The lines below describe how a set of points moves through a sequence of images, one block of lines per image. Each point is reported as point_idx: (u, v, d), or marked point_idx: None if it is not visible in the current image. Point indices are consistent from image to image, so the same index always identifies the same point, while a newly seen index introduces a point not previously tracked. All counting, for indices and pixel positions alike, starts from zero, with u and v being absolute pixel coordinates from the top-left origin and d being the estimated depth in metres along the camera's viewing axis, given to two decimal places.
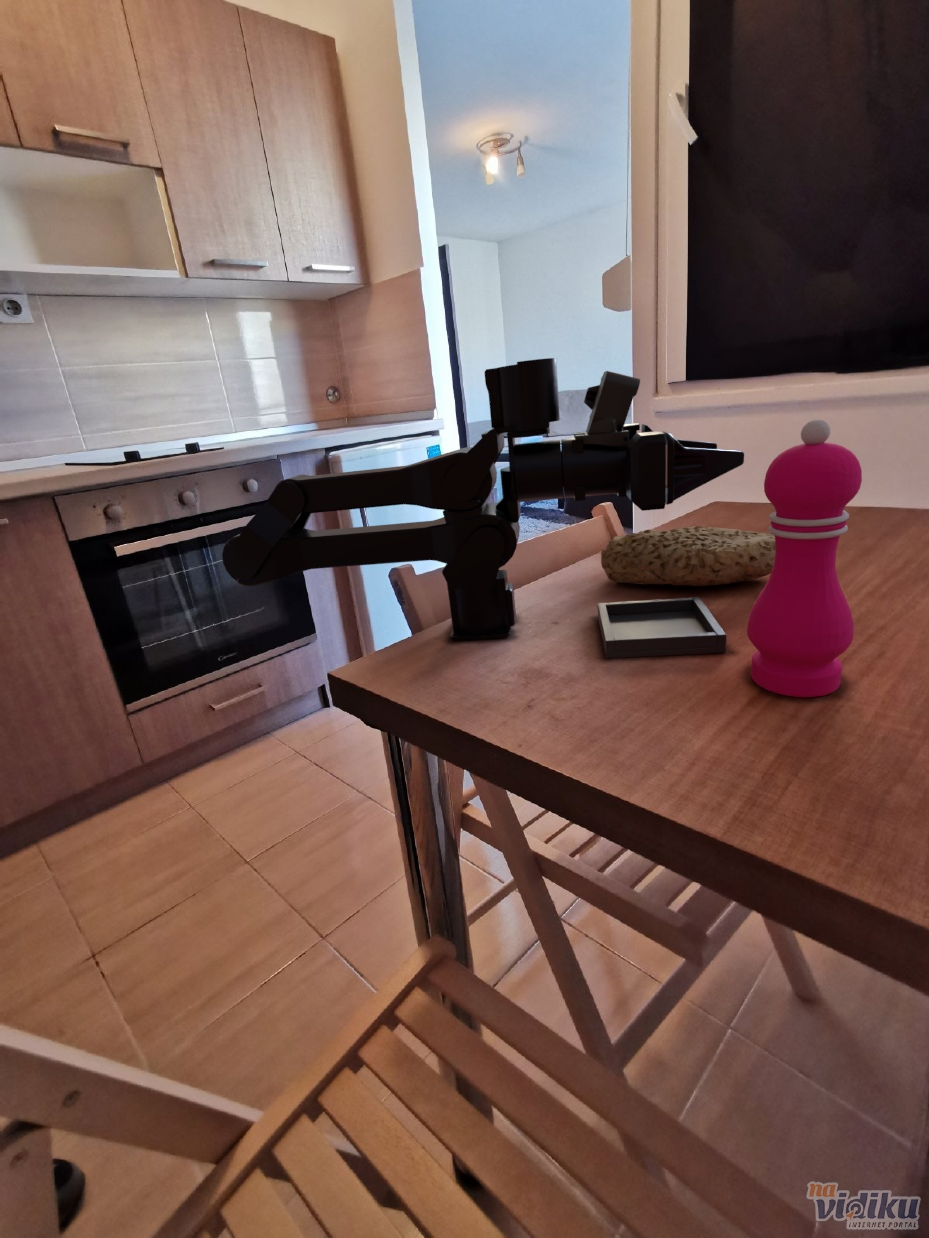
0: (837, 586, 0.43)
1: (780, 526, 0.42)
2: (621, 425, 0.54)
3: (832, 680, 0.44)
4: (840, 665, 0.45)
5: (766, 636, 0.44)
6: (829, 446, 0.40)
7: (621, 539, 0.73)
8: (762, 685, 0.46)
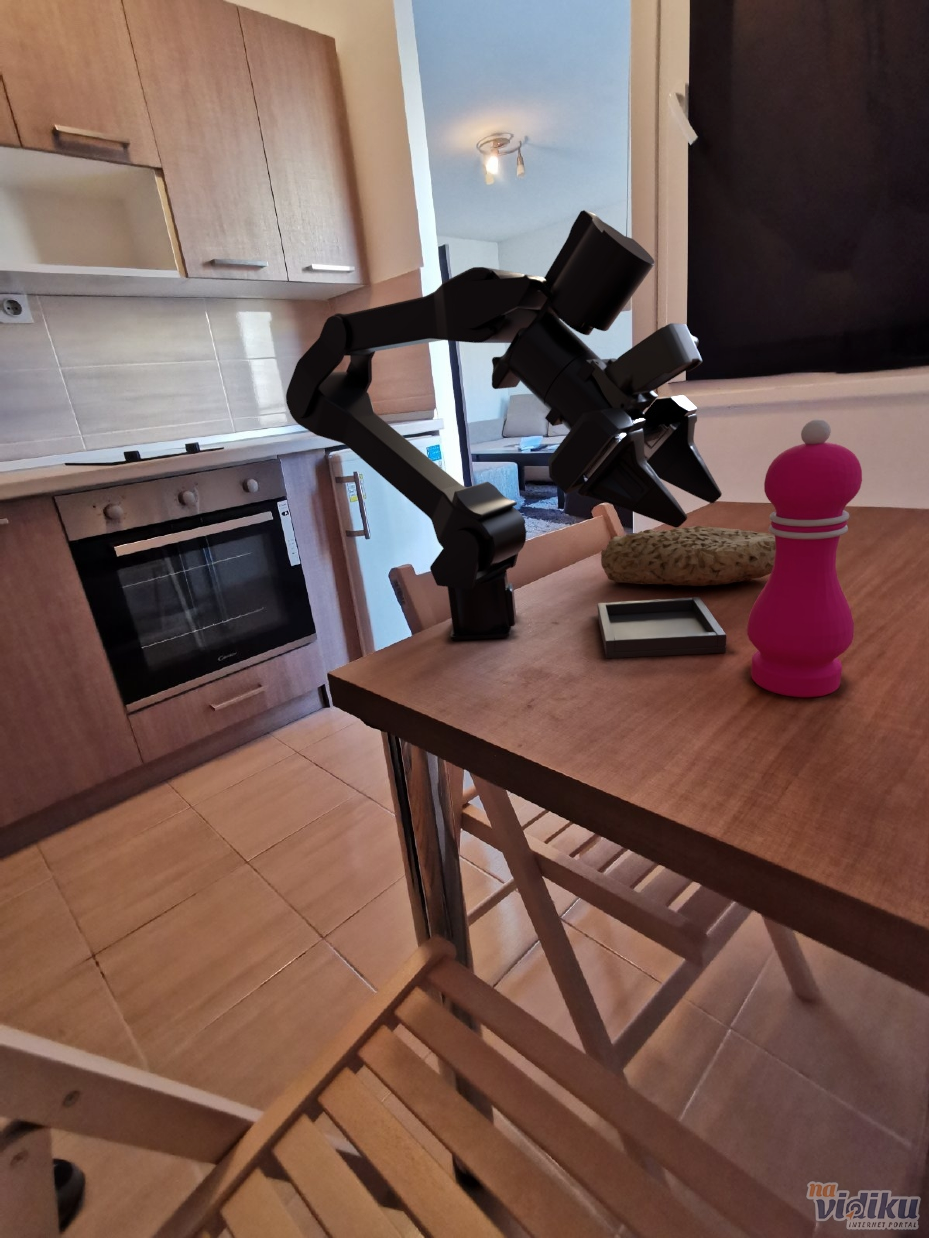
0: (837, 586, 0.43)
1: (780, 526, 0.42)
2: (633, 389, 0.45)
3: (832, 680, 0.44)
4: (840, 665, 0.45)
5: (766, 636, 0.44)
6: (829, 446, 0.40)
7: (621, 539, 0.73)
8: (762, 685, 0.46)
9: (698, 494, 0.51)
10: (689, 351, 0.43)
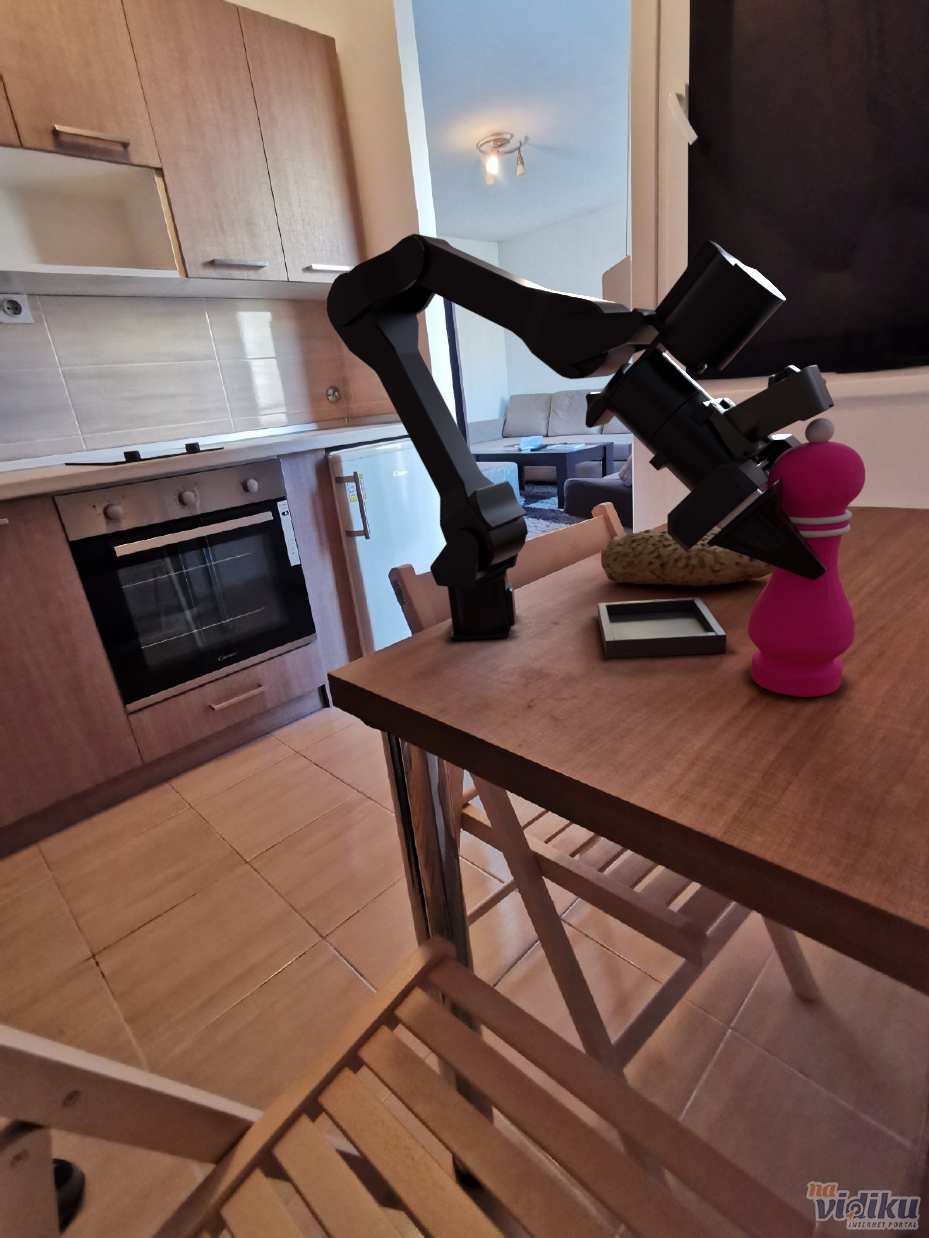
0: (839, 585, 0.43)
1: None
2: (758, 436, 0.41)
3: (833, 680, 0.44)
4: (840, 665, 0.45)
5: (768, 635, 0.44)
6: (833, 444, 0.40)
7: (621, 539, 0.73)
8: (762, 684, 0.46)
9: None
10: (825, 396, 0.39)
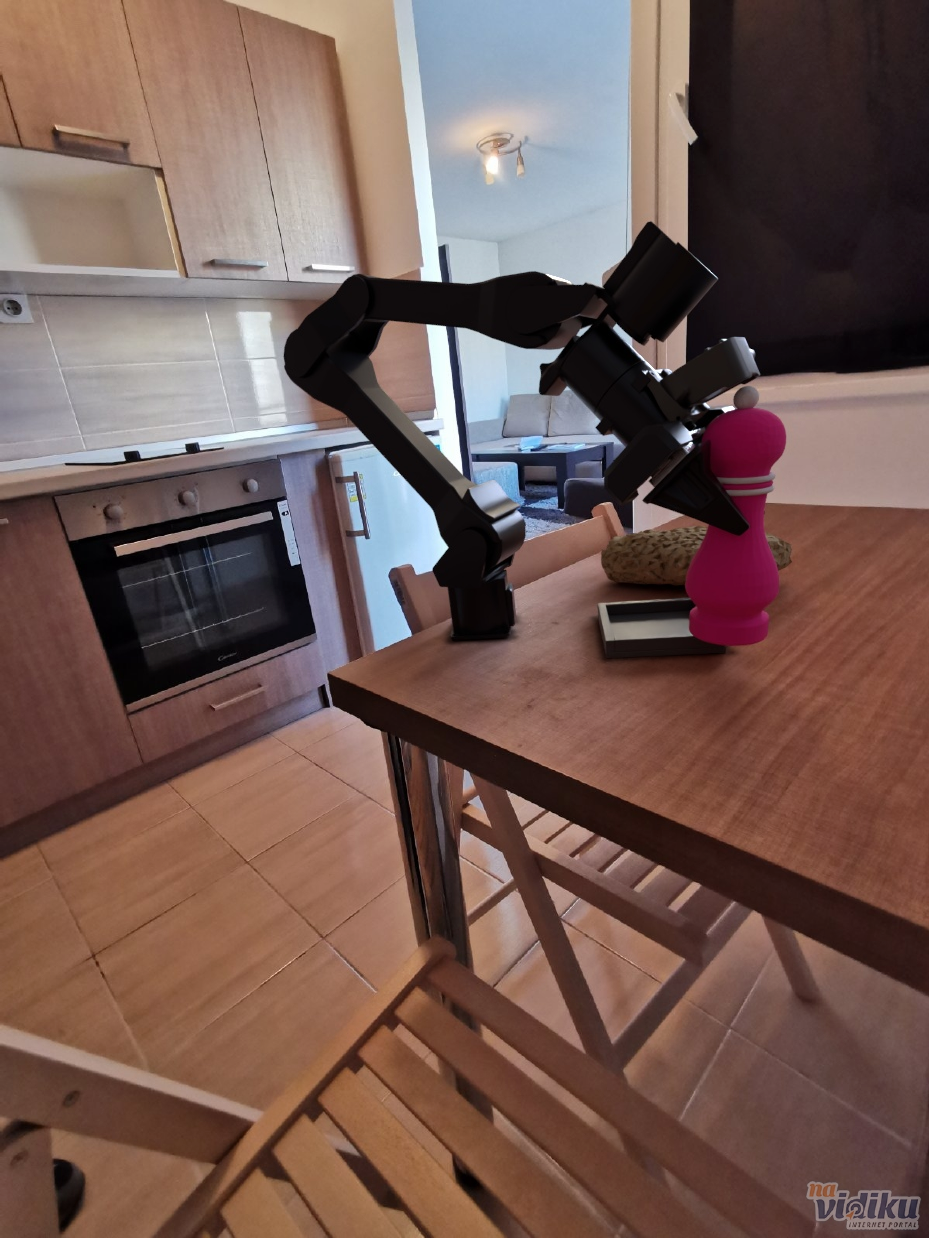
0: (764, 542, 0.47)
1: None
2: (690, 402, 0.45)
3: (758, 630, 0.48)
4: (767, 618, 0.49)
5: (700, 588, 0.48)
6: (757, 410, 0.44)
7: (621, 539, 0.73)
8: (696, 635, 0.50)
9: None
10: (749, 365, 0.43)
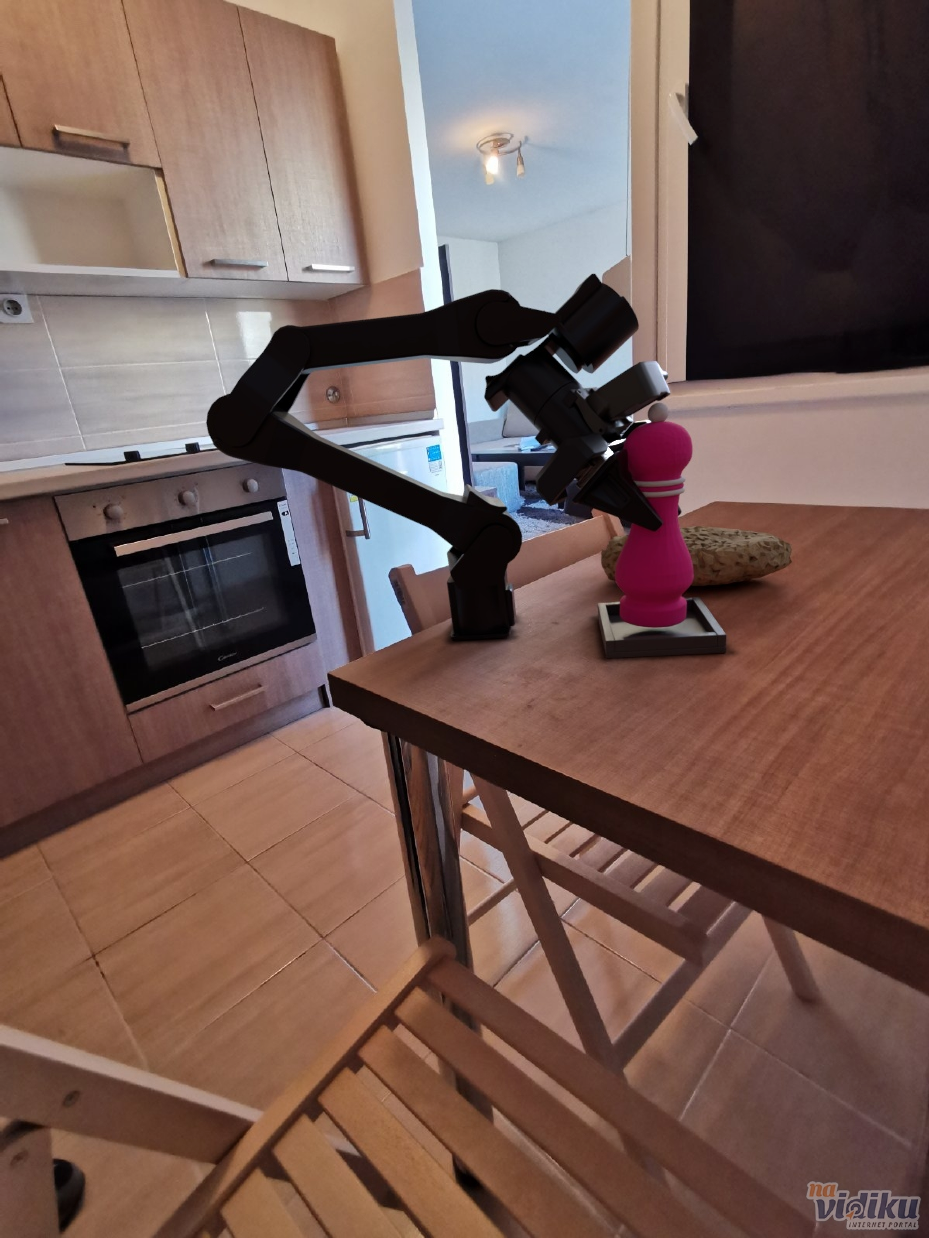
0: (677, 537, 0.54)
1: None
2: (610, 416, 0.52)
3: (675, 614, 0.55)
4: (684, 603, 0.56)
5: (624, 577, 0.55)
6: (666, 423, 0.51)
7: (621, 539, 0.73)
8: (624, 619, 0.57)
9: None
10: (658, 385, 0.50)
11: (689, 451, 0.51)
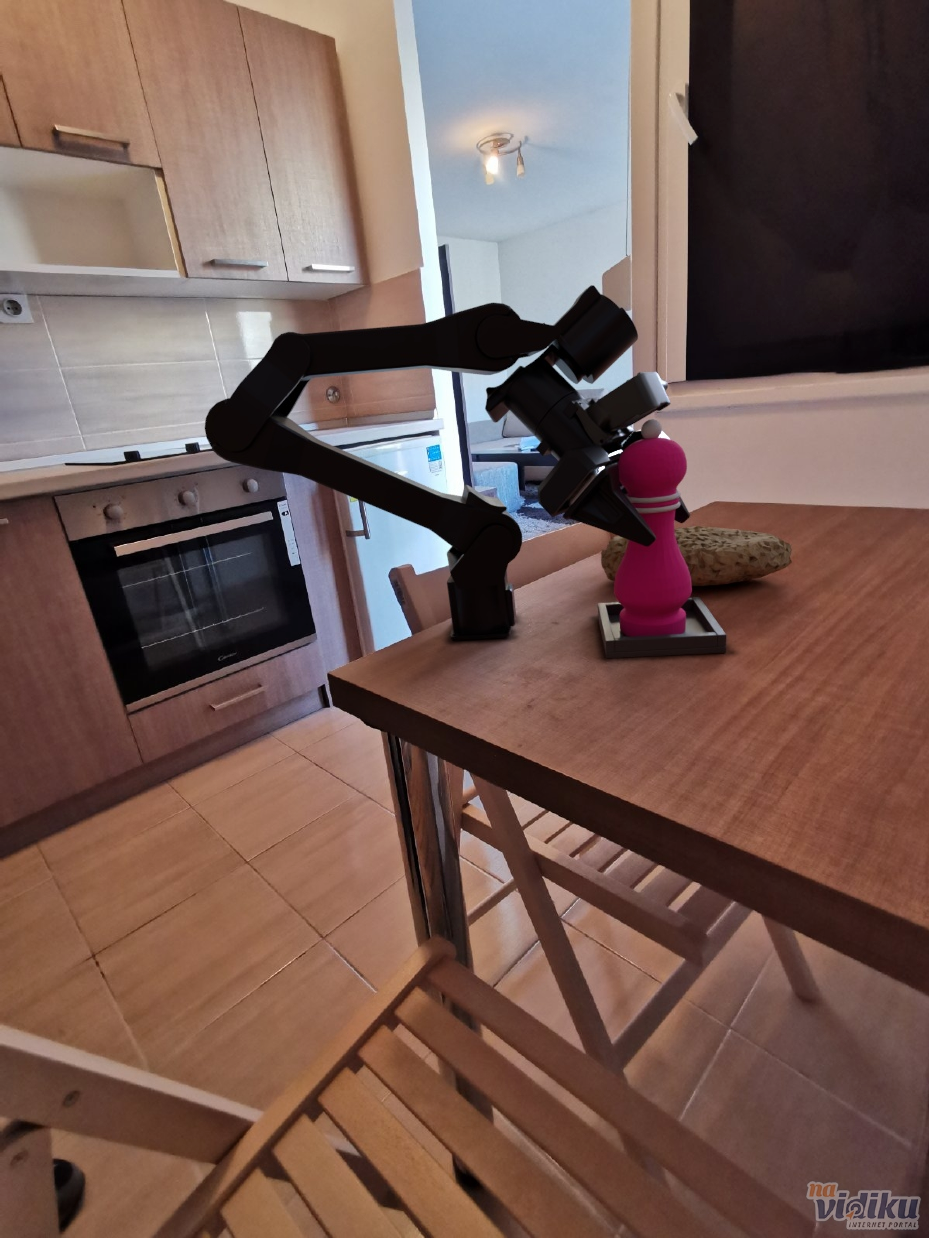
0: (674, 551, 0.54)
1: None
2: (611, 427, 0.52)
3: (675, 626, 0.56)
4: (683, 615, 0.56)
5: (623, 592, 0.56)
6: (659, 440, 0.51)
7: (621, 539, 0.73)
8: (624, 633, 0.58)
9: None
10: (658, 396, 0.51)
11: (683, 467, 0.51)
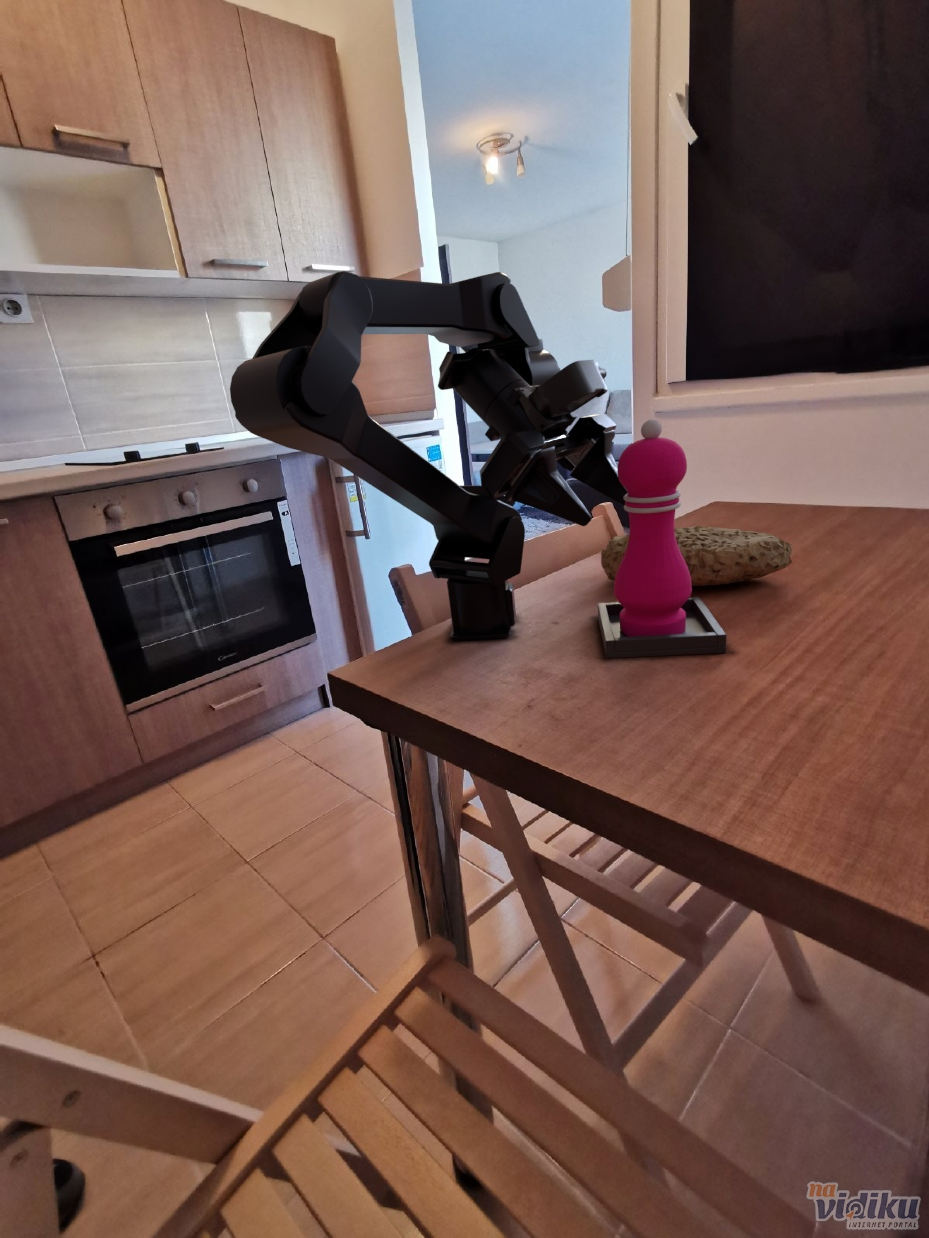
0: (674, 551, 0.54)
1: (628, 504, 0.54)
2: (550, 413, 0.55)
3: (675, 627, 0.56)
4: (683, 615, 0.56)
5: (623, 592, 0.56)
6: (659, 440, 0.51)
7: (621, 539, 0.73)
8: (624, 633, 0.58)
9: (614, 497, 0.61)
10: (593, 383, 0.53)
11: (683, 467, 0.51)
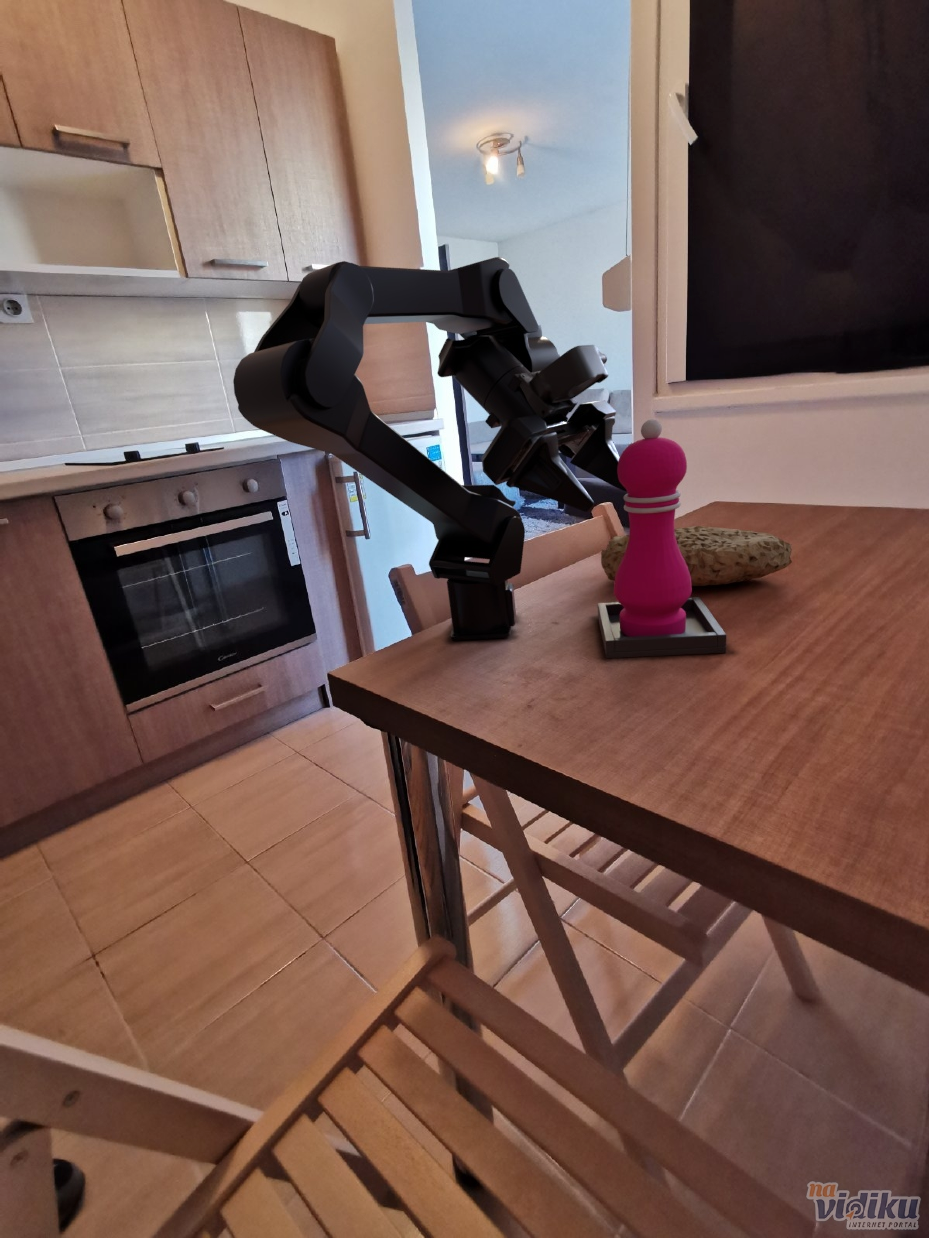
0: (674, 551, 0.54)
1: (628, 504, 0.54)
2: (551, 399, 0.55)
3: (675, 626, 0.56)
4: (683, 615, 0.56)
5: (623, 592, 0.56)
6: (659, 440, 0.51)
7: (621, 539, 0.73)
8: (624, 633, 0.58)
9: (615, 484, 0.61)
10: (594, 368, 0.53)
11: (683, 467, 0.51)
